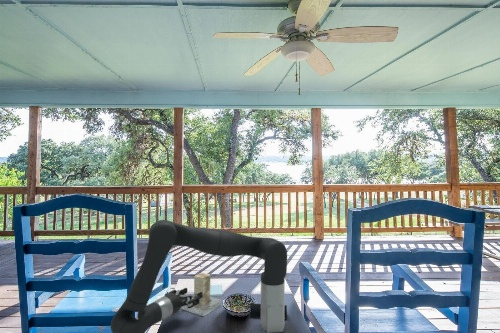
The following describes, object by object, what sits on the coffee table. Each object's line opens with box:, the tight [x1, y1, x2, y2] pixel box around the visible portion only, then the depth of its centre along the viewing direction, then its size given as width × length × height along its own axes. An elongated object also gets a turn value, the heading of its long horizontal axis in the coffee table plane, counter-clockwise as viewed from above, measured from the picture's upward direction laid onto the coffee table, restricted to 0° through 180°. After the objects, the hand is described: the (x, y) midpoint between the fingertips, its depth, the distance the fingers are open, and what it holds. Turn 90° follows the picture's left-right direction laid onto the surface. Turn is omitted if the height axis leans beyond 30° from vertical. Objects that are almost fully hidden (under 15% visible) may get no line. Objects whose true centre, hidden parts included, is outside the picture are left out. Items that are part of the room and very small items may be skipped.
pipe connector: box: [249, 302, 288, 320], centre depth 122 cm, size 12×5×15 cm
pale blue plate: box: [210, 284, 224, 297], centre depth 144 cm, size 12×12×1 cm
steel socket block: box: [181, 296, 222, 317], centre depth 126 cm, size 12×12×2 cm
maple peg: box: [193, 272, 211, 306], centre depth 126 cm, size 5×5×14 cm
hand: (194, 292), depth 122 cm, fingers open, 8 cm apart
